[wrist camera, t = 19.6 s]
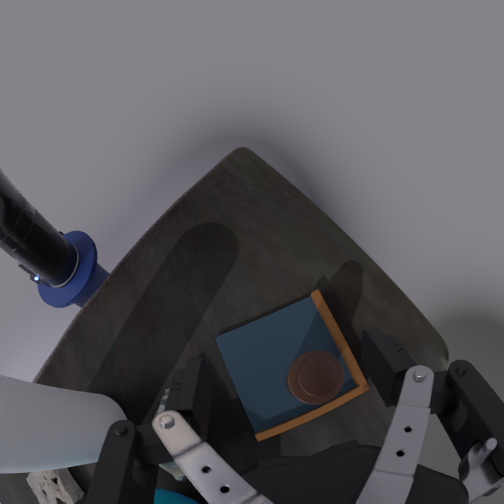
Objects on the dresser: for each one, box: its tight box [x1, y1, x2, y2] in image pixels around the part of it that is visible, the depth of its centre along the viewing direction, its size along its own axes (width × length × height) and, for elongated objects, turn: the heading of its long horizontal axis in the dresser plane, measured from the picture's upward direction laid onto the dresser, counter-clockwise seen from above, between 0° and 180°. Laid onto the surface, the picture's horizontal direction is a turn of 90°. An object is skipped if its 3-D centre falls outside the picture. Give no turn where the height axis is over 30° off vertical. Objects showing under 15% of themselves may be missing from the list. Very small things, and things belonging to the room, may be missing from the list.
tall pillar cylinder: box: [0, 375, 127, 473], centre depth 19 cm, size 11×11×25 cm
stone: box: [27, 468, 85, 504], centre depth 21 cm, size 13×6×10 cm
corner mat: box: [215, 289, 370, 441], centre depth 32 cm, size 15×15×2 cm
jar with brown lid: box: [285, 350, 344, 404], centre depth 26 cm, size 5×5×12 cm
